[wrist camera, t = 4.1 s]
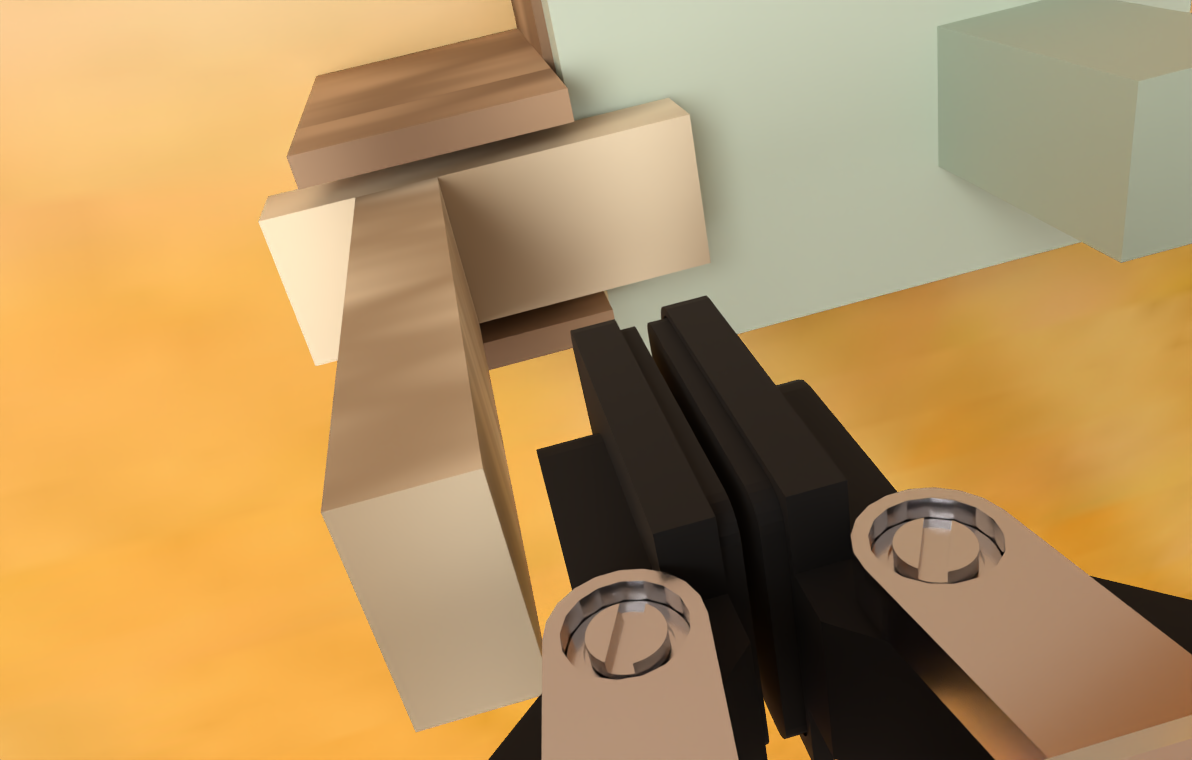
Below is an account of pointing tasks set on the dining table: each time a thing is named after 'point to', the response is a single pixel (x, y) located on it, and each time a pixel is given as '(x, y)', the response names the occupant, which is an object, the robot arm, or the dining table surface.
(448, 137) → the toolbox
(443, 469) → the t-shaped block
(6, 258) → the dining table surface
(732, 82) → the lid
